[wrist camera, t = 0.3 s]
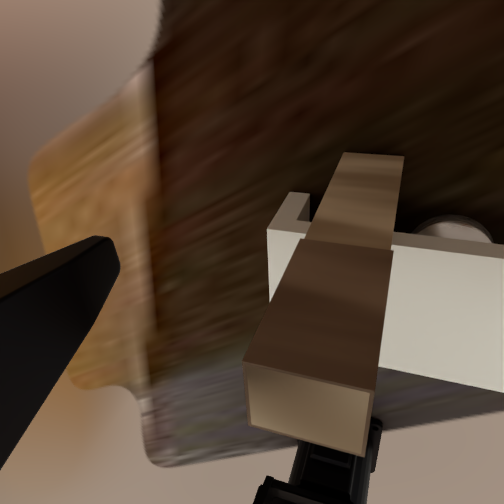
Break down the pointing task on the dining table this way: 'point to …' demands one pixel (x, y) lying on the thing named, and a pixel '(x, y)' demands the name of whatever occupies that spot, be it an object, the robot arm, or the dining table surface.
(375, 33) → the dining table surface
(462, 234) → the grey metal disc
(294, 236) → the cream rectangular box
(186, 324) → the dining table surface
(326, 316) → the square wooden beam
